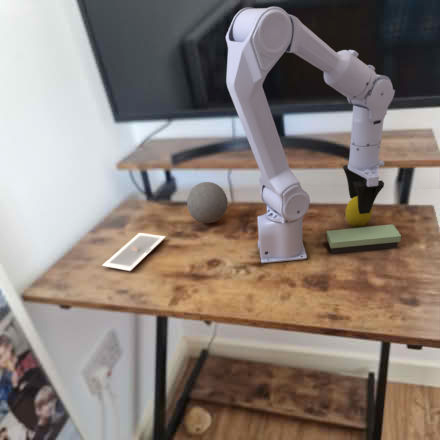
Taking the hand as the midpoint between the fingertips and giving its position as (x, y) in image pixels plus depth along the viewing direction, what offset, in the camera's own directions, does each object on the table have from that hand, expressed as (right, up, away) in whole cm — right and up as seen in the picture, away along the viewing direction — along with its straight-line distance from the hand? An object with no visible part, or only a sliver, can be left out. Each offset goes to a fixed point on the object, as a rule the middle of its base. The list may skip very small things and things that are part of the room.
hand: (359, 204), depth 88 cm
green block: (0, -9, -2) cm, 9 cm away
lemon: (+1, -5, +4) cm, 6 cm away
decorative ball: (-33, -1, +15) cm, 36 cm away
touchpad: (-50, -10, +6) cm, 51 cm away
